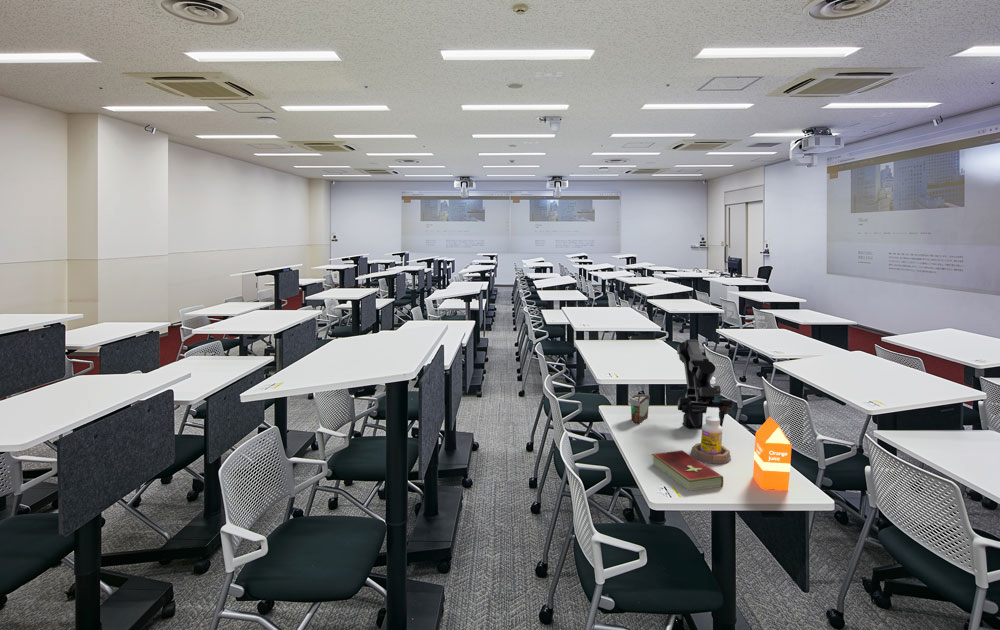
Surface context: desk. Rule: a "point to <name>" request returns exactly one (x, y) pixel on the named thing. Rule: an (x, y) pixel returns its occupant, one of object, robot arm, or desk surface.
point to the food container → (639, 407)
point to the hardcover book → (687, 470)
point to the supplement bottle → (711, 436)
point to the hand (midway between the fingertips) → (707, 426)
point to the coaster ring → (709, 458)
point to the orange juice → (772, 457)
